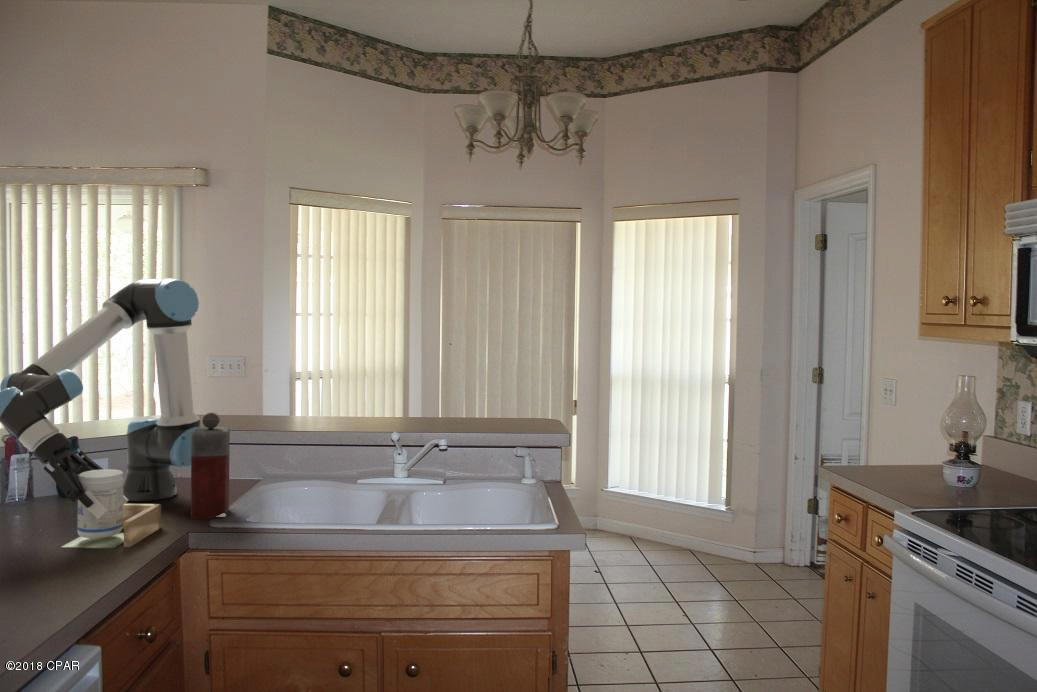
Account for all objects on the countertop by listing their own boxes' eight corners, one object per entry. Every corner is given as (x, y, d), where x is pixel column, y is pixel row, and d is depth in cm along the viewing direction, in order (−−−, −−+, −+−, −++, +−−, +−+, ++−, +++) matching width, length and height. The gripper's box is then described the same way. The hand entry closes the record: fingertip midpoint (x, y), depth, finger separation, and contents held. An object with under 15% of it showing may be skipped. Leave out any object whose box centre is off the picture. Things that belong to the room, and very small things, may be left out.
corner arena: (61, 547, 175) (61, 522, 175) (100, 526, 193) (100, 503, 192) (128, 548, 176) (128, 522, 175) (161, 527, 193) (161, 504, 193)
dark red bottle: (229, 507, 215) (230, 409, 214) (226, 517, 204) (227, 414, 203) (195, 508, 212) (196, 409, 211) (190, 519, 202) (191, 414, 201)
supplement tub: (72, 532, 181) (73, 471, 181) (116, 525, 188) (116, 467, 187) (83, 541, 174) (84, 478, 174) (128, 534, 181) (128, 473, 180)
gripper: (61, 445, 191) (124, 508, 192) (5, 462, 169) (77, 533, 170) (82, 425, 191) (146, 488, 192) (29, 438, 169) (101, 510, 170)
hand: (113, 509), depth 181 cm, fingers closed on supplement tub, 9 cm apart
